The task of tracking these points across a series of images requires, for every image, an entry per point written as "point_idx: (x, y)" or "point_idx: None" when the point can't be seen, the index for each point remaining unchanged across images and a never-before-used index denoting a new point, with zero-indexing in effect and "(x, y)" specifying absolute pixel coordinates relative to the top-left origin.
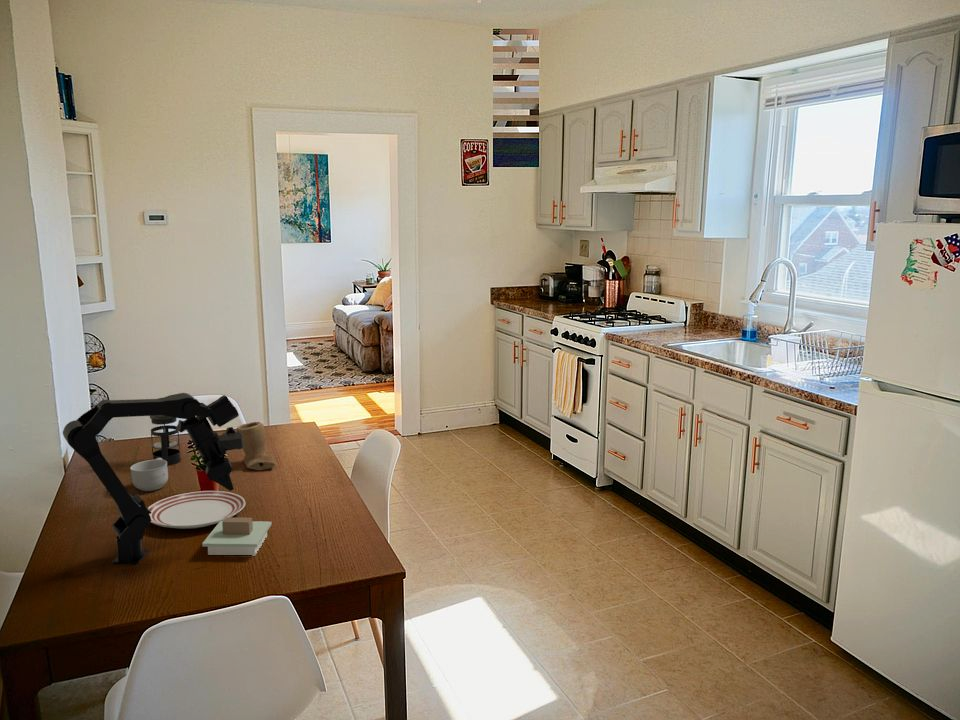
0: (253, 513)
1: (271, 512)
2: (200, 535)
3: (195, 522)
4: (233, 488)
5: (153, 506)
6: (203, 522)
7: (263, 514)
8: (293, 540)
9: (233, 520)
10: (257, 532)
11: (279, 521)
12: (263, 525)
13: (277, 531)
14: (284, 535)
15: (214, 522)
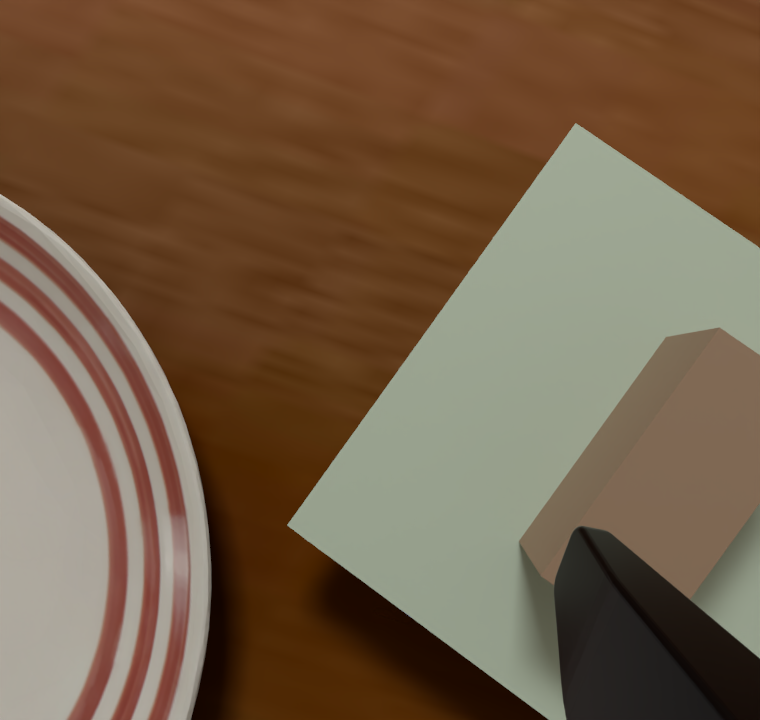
0: (61, 147)
1: (125, 15)
2: (242, 645)
3: (18, 628)
4: (618, 540)
5: None
6: (60, 575)
7: (127, 84)
8: (755, 59)
9: (679, 534)
10: (748, 320)
11: (337, 23)
12: (621, 217)
13: (516, 105)
14: (622, 85)
15: (205, 542)
